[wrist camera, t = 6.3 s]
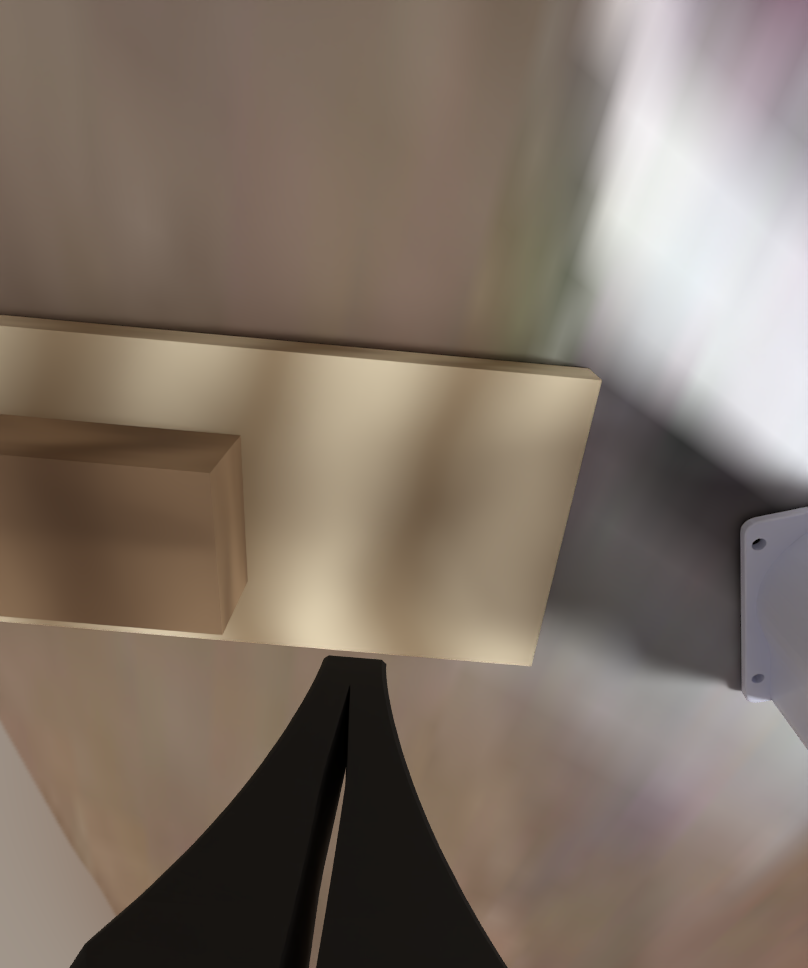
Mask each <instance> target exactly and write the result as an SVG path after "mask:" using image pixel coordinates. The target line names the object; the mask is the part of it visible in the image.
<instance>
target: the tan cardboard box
mask: <svg viewBox="0 0 808 968" xmlns="http://www.w3.org/2000/svg"><path fill="white" fill-rule="evenodd" d="M247 582H248V576H247V556H246V536H245V516H244V495H243V475H242V455H241V435H230V434H219V433H207V432H196V431H185V430H174V429H162V428H151V427H140V426H129V425H117V424H106V423H95V422H84V421H72V420H61V419H50V418H39V417H27V416H16V415H5V414H0V616H3V617H15V618H27V619H38V620H50V621H62V622H74V623H86V624H97V625H109V626H121V627H133V628H145V629H156V630H168V631H180V632H192V633H204V634H216V635H223V633H224V631H225V629H226V627H227V624H228V622H229V620H230V618H231V616H232V614H233V612H234V610H235V607H236V605H237V603H238V601H239V599H240V597H241V595H242V593H243V591H244V588H245V586H246V584H247Z"/></svg>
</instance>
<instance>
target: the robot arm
mask: <svg viewBox="0 0 808 968" xmlns="http://www.w3.org/2000/svg"><path fill="white" fill-rule="evenodd" d="M757 539H760V541H759V542H758V543H756V544H754V545H752V543H753V542H754V541H755V540H757ZM740 550H741V660H742V693H743V695H744V696H745V698H746V699H747V700H748V701H750V702H763V701H769V700H772V701H773V702H774V704H775V705H776V706H777V708H778V709H779V711H780V712H781V713H782V715H783V716H784V718H785V719H786V720H787V722H788V723H789V724H790V726H791V727H792V729H793V730H794V731H795V733H796V734H797V736H798V737H799V738H800V740H801V741H802V743H803V744H804V745H805V747H806V748H807V749H808V507H803V508H798V509H793V510H789V511H784V512H779V513H774V514H769V515H764V516H759V517H754V518H751V519H749V520H747V521H746V522H745V523H744V524H743V525H742V527H741V531H740ZM754 675H755V676H754ZM345 769H346V782H345V791H344V798H343V805H342V812H341V818H340V825H339V831H338V838H337V844H336V851H335V857H334V864H333V870H332V876H331V882H330V888H329V894H328V901H327V907H326V913H325V919H324V925H323V931H322V937H321V943H320V949H319V954H318V960H317V966H316V968H507V966H506V965H505V963H504V961H503V960H502V958H501V957H500V955H499V954H498V952H497V950H496V949H495V947H494V946H493V944H492V942H491V941H490V939H489V937H488V936H487V934H486V932H485V931H484V929H483V927H482V926H481V924H480V922H479V920H478V919H477V917H476V915H475V913H474V912H473V910H472V908H471V906H470V905H469V903H468V901H467V899H466V898H465V896H464V894H463V892H462V890H461V888H460V886H459V884H458V882H457V880H456V878H455V876H454V874H453V872H452V870H451V868H450V867H449V865H448V863H447V861H446V859H445V857H444V855H443V853H442V851H441V849H440V847H439V844H438V842H437V840H436V838H435V836H434V833H433V831H432V829H431V827H430V824H429V822H428V820H427V817H426V815H425V813H424V810H423V808H422V805H421V803H420V800H419V798H418V795H417V793H416V790H415V787H414V785H413V782H412V779H411V776H410V773H409V770H408V767H407V764H406V761H405V758H404V755H403V752H402V749H401V745H400V742H399V738H398V734H397V730H396V727H395V723H394V719H393V715H392V710H391V705H390V700H389V695H388V688H387V679H386V664H385V663H384V662H383V661H382V660H377V659H365V658H353V657H341V656H327V657H326V658H324V660H323V662H322V665H321V667H320V669H319V671H318V674H317V676H316V678H315V680H314V682H313V684H312V686H311V688H310V689H309V691H308V693H307V695H306V697H305V698H304V700H303V702H302V704H301V705H300V707H299V708H298V710H297V712H296V713H295V715H294V717H293V718H292V720H291V721H290V723H289V725H288V726H287V728H286V729H285V731H284V732H283V734H282V735H281V737H280V738H279V740H278V741H277V743H276V744H275V745H274V747H273V748H272V750H271V751H270V752H269V754H268V755H267V757H266V758H265V759H264V761H263V762H262V764H261V765H260V766H259V768H258V769H257V770H256V772H255V773H254V774H253V776H252V777H251V778H250V779H249V781H248V782H247V783H246V784H245V786H244V787H243V788H242V789H241V791H240V792H239V793H238V794H237V795H236V797H235V798H234V799H233V800H232V802H231V803H230V804H229V805H228V806H227V807H226V809H225V810H224V811H223V812H222V813H221V814H220V815H219V816H218V817H217V819H216V820H215V821H214V822H213V823H212V824H211V825H210V826H209V828H208V829H207V830H206V831H205V832H204V833H203V834H202V835H201V836H200V837H199V838H198V840H197V841H196V842H195V843H194V844H193V845H192V846H191V847H190V848H189V849H188V850H187V851H186V852H185V853H184V854H183V855H182V856H181V857H180V858H179V859H178V860H177V861H176V862H175V863H174V864H173V865H172V866H171V867H170V868H169V869H168V870H166V871H165V872H164V873H163V874H162V875H161V876H160V877H159V878H158V879H157V880H156V881H155V882H154V883H153V884H152V885H151V886H150V887H149V888H148V889H147V890H146V891H145V892H144V893H143V894H141V895H140V896H139V897H138V898H137V899H136V900H135V901H134V902H132V903H131V904H130V905H129V906H128V907H127V908H126V909H124V910H123V911H122V912H121V913H120V914H119V915H118V916H116V917H115V918H114V919H113V920H112V921H111V922H110V923H108V924H107V925H106V926H105V927H104V928H103V929H101V931H99V932H98V933H97V934H96V935H95V936H93V937H92V938H91V939H90V940H89V941H88V942H87V943H86V944H85V945H84V946H83V948H82V950H81V951H80V952H79V954H78V955H77V957H76V959H75V960H74V962H73V963H72V965H71V966H70V968H309V962H310V955H311V948H312V940H313V933H314V926H315V919H316V912H317V905H318V897H319V891H320V886H321V880H322V875H323V870H324V865H325V861H326V856H327V852H328V847H329V842H330V838H331V833H332V829H333V824H334V820H335V815H336V811H337V806H338V802H339V797H340V792H341V788H342V783H343V779H344V774H345Z"/></svg>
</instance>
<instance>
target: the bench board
mask: <svg viewBox="0 0 808 968" xmlns="http://www.w3.org/2000/svg"><path fill="white" fill-rule="evenodd" d="M601 382H602V380H601V379H600V378H599V377H598V376H597V375H595V374H594V373H593V372H592V371H591V370H590V369H589V368H579V367H568V366H557V365H546V364H535V363H524V362H513V361H502V360H491V359H480V358H469V357H458V356H447V355H436V354H425V353H414V352H403V351H392V350H381V349H370V348H359V347H348V346H337V345H326V344H315V343H304V342H293V341H282V340H271V339H260V338H249V337H238V336H227V335H216V334H205V333H194V332H183V331H172V330H161V329H150V328H139V327H128V326H117V325H106V324H95V323H84V322H73V321H62V320H51V319H40V318H29V317H18V316H7V315H0V414H5V415H16V416H27V417H39V418H50V419H61V420H72V421H84V422H95V423H106V424H117V425H129V426H140V427H151V428H162V429H174V430H185V431H196V432H207V433H219V434H230V435H241V455H242V475H243V495H244V516H245V536H246V556H247V576H248V582H247V584H246V586H245V588H244V591H243V593H242V595H241V597H240V599H239V601H238V603H237V605H236V607H235V610H234V612H233V614H232V616H231V618H230V620H229V622H228V624H227V627H226V629H225V631H224V633H223V635H216V634H204V633H192V632H180V631H168V630H156V629H145V628H133V627H121V626H109V625H97V624H86V623H74V622H62V621H50V620H38V619H27V618H15V617H3V616H0V621H1V622H13V623H25V624H37V625H49V626H61V627H72V628H84V629H96V630H108V631H120V632H132V633H143V634H155V635H167V636H179V637H191V638H203V639H214V640H226V641H238V642H250V643H262V644H274V645H285V646H297V647H309V648H321V649H333V650H345V651H356V652H368V653H380V654H392V655H404V656H416V657H427V658H439V659H451V660H463V661H475V662H487V663H498V664H510V665H522V666H531V665H532V661H533V657H534V653H535V649H536V645H537V640H538V636H539V632H540V628H541V624H542V620H543V616H544V612H545V608H546V604H547V600H548V596H549V592H550V588H551V584H552V580H553V576H554V572H555V568H556V564H557V560H558V556H559V552H560V548H561V543H562V539H563V535H564V531H565V527H566V523H567V519H568V515H569V511H570V507H571V503H572V499H573V495H574V491H575V487H576V483H577V479H578V475H579V471H580V467H581V463H582V459H583V455H584V451H585V446H586V442H587V438H588V434H589V430H590V426H591V422H592V418H593V414H594V410H595V406H596V402H597V398H598V394H599V390H600V386H601Z"/></svg>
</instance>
